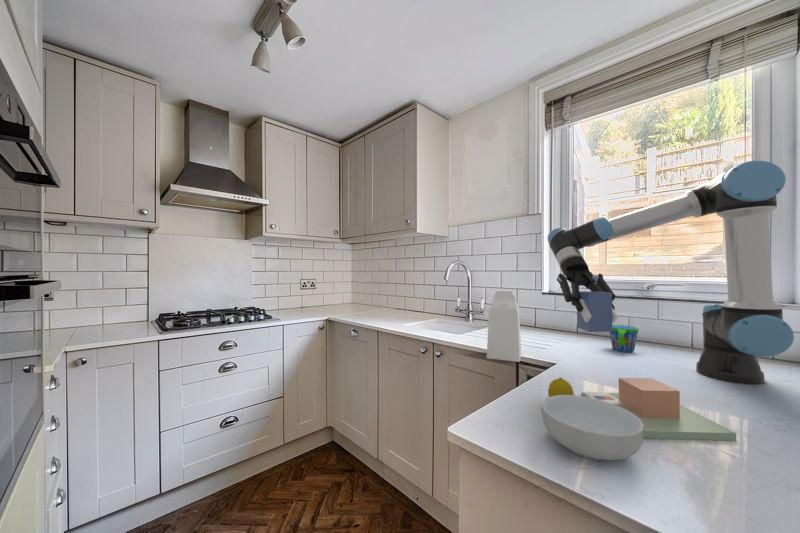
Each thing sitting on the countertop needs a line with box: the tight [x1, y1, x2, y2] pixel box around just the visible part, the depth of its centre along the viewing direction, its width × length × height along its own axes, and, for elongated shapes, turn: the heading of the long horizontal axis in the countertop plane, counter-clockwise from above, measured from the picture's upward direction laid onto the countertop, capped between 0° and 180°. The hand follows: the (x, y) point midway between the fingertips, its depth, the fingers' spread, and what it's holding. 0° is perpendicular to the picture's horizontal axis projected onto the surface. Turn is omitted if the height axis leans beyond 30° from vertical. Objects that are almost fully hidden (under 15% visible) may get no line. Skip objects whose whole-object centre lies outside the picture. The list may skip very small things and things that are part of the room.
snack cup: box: [609, 324, 639, 353], centre depth 132 cm, size 16×10×10 cm
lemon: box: [548, 377, 575, 397], centre depth 76 cm, size 6×6×8 cm
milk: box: [486, 290, 522, 363], centre depth 124 cm, size 12×12×26 cm
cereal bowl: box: [540, 394, 644, 461], centre depth 60 cm, size 17×17×7 cm
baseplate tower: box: [580, 377, 737, 442], centre depth 73 cm, size 20×20×8 cm
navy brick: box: [576, 290, 613, 333], centre depth 91 cm, size 6×6×11 cm
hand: (601, 319), depth 88 cm, fingers closed on navy brick, 6 cm apart
